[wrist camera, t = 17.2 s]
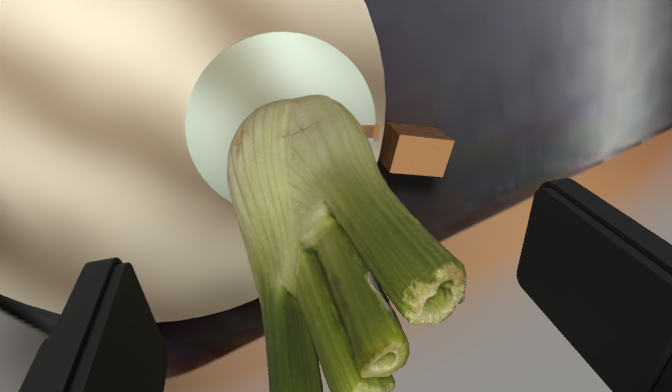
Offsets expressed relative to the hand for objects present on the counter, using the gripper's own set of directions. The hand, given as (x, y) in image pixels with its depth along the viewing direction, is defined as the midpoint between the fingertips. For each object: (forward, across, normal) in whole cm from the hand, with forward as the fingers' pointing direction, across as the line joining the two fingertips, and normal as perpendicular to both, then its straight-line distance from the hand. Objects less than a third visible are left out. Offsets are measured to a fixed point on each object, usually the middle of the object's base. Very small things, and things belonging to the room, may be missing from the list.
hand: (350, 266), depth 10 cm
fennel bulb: (+9, +1, +1) cm, 9 cm away
